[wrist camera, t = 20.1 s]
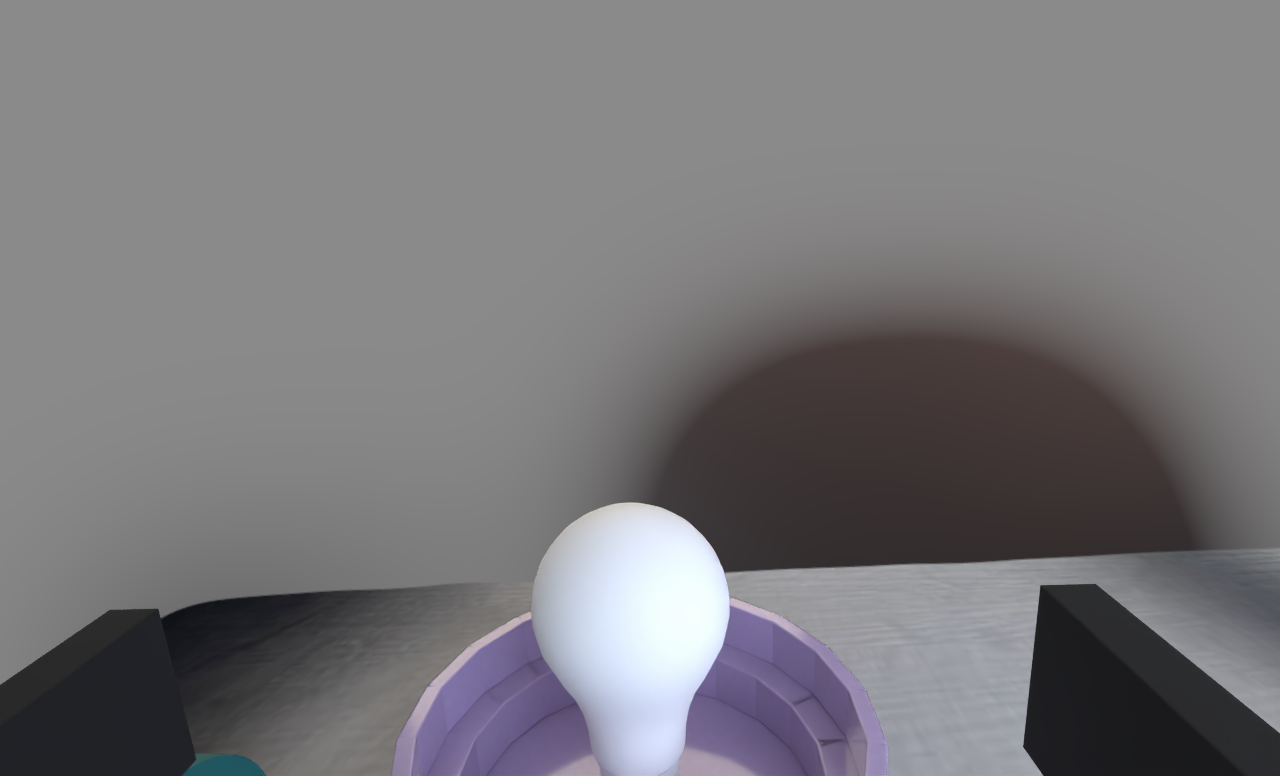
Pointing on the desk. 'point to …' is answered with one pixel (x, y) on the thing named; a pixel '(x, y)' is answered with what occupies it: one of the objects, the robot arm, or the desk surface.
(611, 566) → the lightbulb
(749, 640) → the bowl
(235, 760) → the bracket
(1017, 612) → the desk surface
